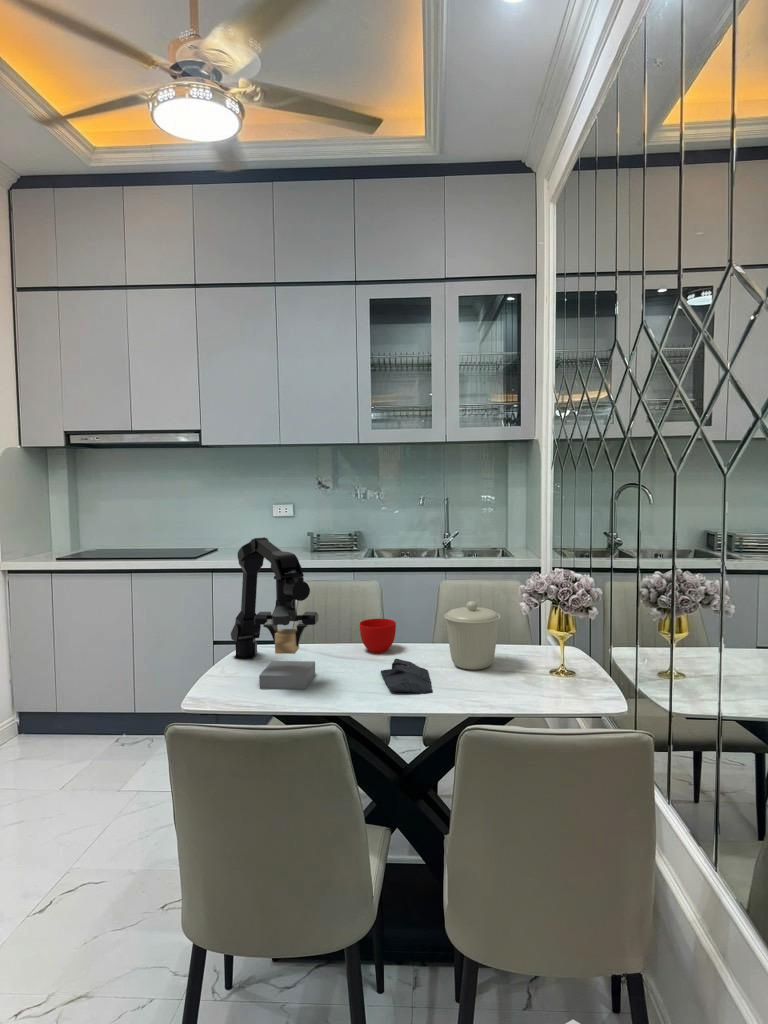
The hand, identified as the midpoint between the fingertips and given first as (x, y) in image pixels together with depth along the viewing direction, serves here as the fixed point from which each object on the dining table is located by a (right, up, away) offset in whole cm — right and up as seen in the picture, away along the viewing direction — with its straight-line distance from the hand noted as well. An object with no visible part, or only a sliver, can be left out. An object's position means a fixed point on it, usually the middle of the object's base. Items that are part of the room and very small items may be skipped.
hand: (287, 645), depth 191 cm
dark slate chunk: (+36, -11, -2) cm, 38 cm away
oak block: (0, -2, 0) cm, 2 cm away
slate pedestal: (0, -11, +1) cm, 11 cm away
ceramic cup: (+27, -8, +33) cm, 44 cm away
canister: (+58, -9, +13) cm, 61 cm away
